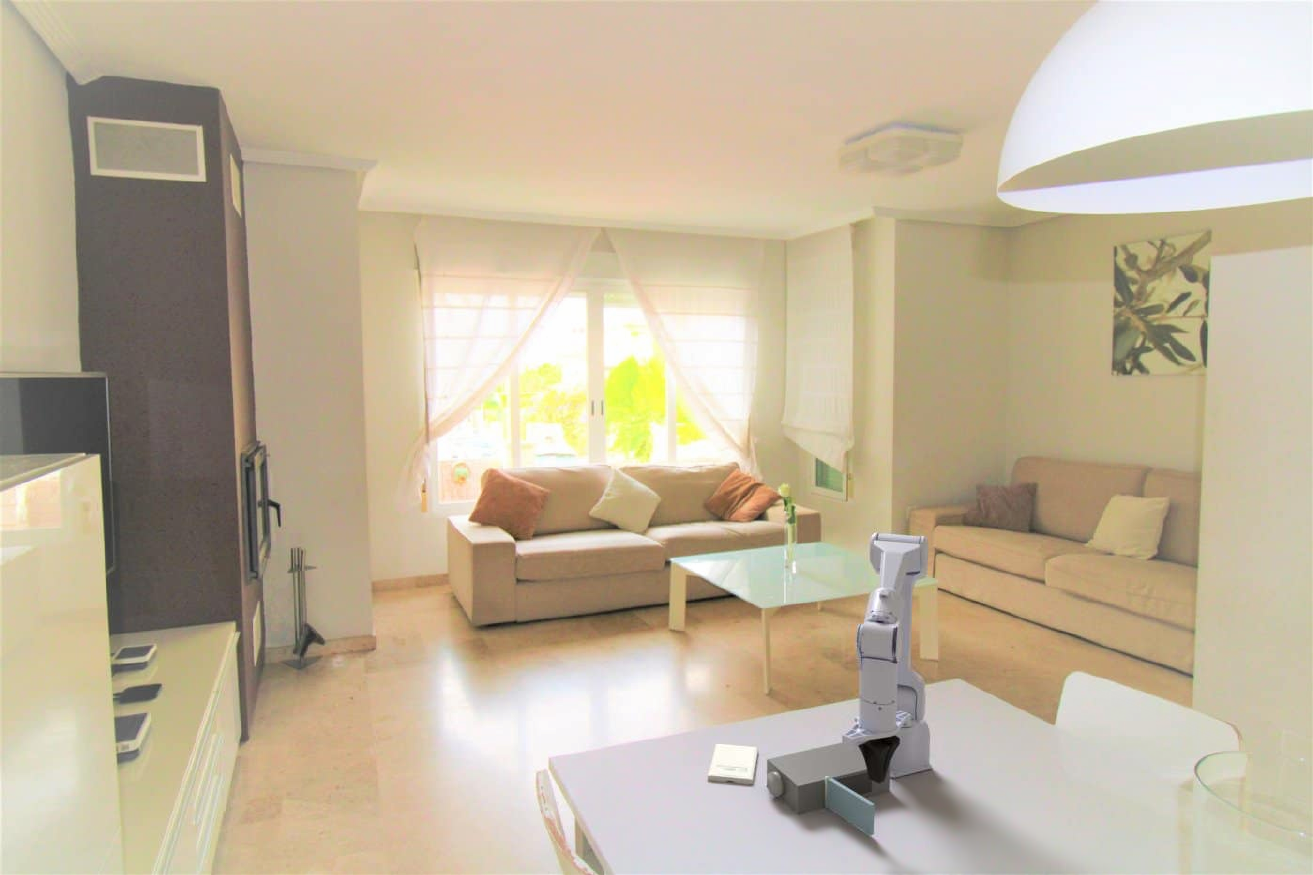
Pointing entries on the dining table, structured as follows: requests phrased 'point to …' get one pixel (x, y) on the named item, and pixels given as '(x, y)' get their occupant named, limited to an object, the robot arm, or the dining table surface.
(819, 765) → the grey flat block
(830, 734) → the dining table surface
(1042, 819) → the dining table surface
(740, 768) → the external hard drive
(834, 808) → the side door
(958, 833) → the dining table surface
